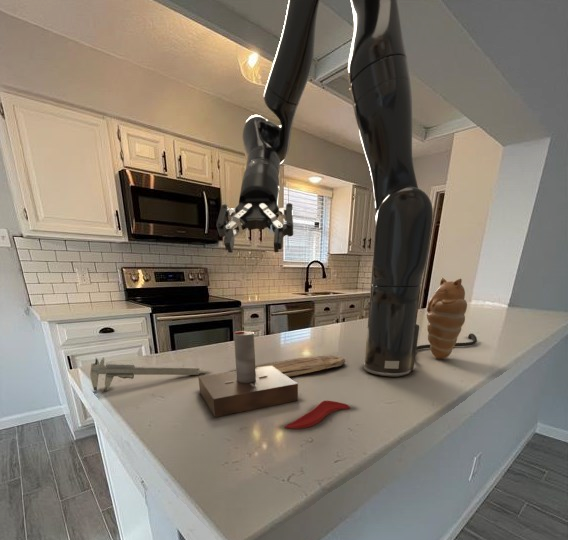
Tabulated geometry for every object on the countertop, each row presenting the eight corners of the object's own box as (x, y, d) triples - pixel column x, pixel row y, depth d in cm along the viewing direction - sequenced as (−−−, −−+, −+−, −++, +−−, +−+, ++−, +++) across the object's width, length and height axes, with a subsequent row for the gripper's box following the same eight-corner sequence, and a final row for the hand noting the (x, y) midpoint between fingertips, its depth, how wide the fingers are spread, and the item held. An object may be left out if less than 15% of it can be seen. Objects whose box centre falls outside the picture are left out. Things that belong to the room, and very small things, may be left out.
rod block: (271, 379, 63) (271, 364, 62) (298, 400, 54) (298, 382, 53) (200, 392, 58) (198, 375, 56) (215, 417, 48) (213, 398, 47)
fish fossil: (242, 387, 59) (241, 381, 59) (225, 375, 68) (224, 370, 68) (352, 363, 70) (352, 358, 70) (325, 356, 79) (325, 351, 79)
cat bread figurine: (413, 355, 78) (423, 277, 72) (438, 352, 81) (450, 276, 74) (441, 365, 70) (455, 279, 64) (468, 361, 73) (484, 278, 67)
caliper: (94, 393, 58) (86, 359, 56) (94, 391, 59) (86, 358, 56) (205, 373, 67) (202, 344, 65) (204, 372, 68) (201, 343, 66)
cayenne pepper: (342, 402, 53) (342, 392, 52) (360, 414, 49) (360, 402, 48) (275, 418, 48) (274, 406, 47) (289, 431, 44) (289, 419, 43)
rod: (252, 375, 57) (249, 328, 54) (258, 381, 54) (256, 332, 51) (234, 378, 55) (231, 330, 52) (240, 384, 53) (237, 334, 50)
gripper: (221, 171, 62) (208, 232, 55) (294, 169, 61) (291, 231, 54) (229, 207, 69) (219, 264, 62) (295, 205, 68) (292, 264, 61)
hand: (252, 249), depth 58 cm, fingers open, 8 cm apart
